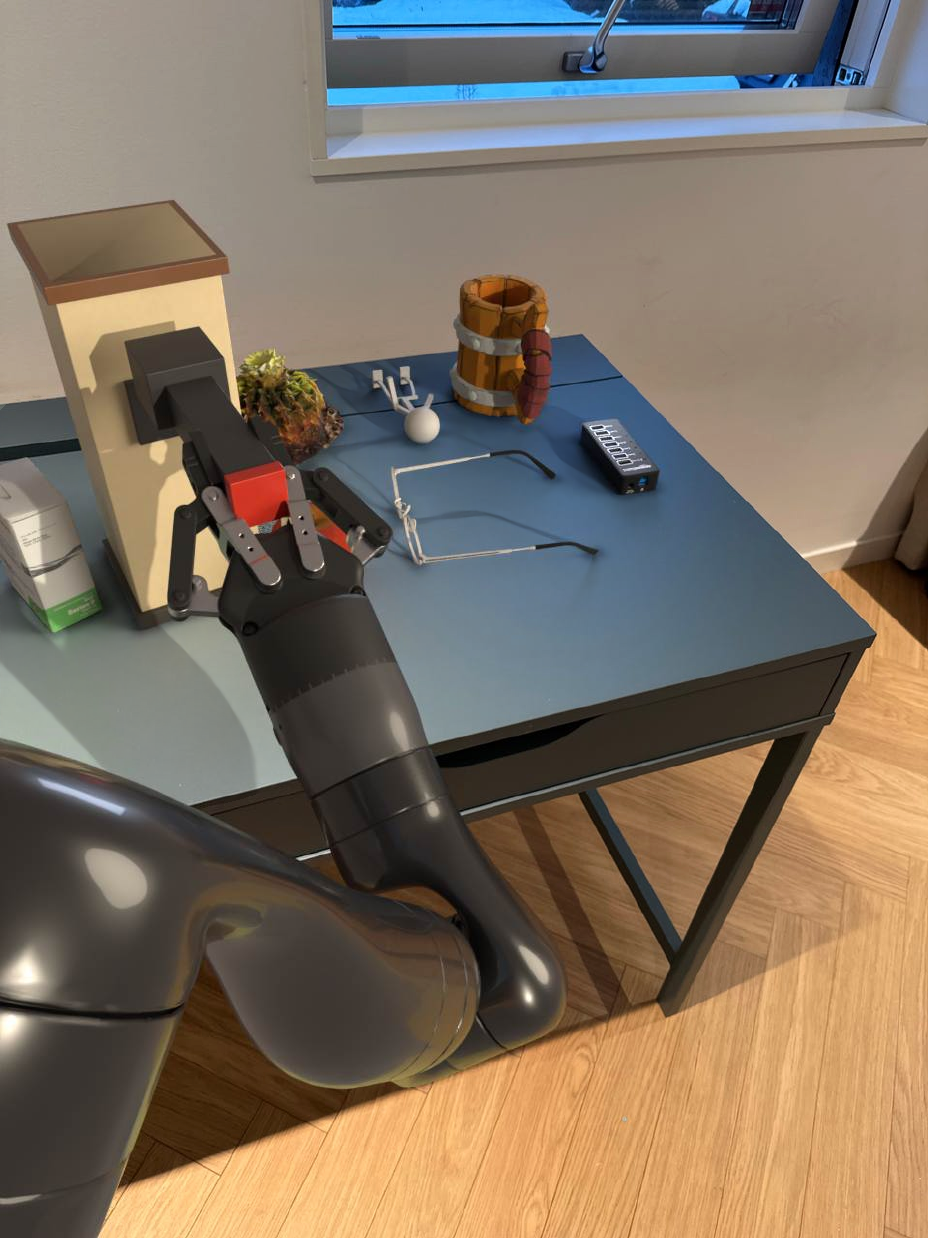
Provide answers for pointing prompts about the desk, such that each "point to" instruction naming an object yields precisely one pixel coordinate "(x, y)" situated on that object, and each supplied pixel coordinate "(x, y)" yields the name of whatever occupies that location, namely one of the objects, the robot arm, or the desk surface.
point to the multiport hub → (619, 456)
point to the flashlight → (207, 417)
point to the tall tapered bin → (129, 371)
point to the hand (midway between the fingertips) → (223, 431)
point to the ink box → (43, 548)
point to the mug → (502, 347)
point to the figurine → (410, 408)
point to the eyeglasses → (428, 559)
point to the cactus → (287, 404)
